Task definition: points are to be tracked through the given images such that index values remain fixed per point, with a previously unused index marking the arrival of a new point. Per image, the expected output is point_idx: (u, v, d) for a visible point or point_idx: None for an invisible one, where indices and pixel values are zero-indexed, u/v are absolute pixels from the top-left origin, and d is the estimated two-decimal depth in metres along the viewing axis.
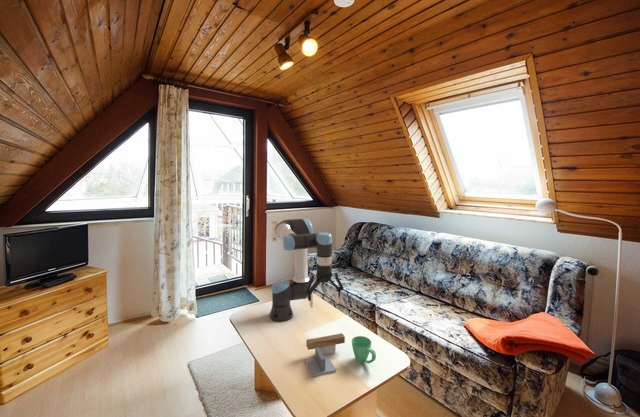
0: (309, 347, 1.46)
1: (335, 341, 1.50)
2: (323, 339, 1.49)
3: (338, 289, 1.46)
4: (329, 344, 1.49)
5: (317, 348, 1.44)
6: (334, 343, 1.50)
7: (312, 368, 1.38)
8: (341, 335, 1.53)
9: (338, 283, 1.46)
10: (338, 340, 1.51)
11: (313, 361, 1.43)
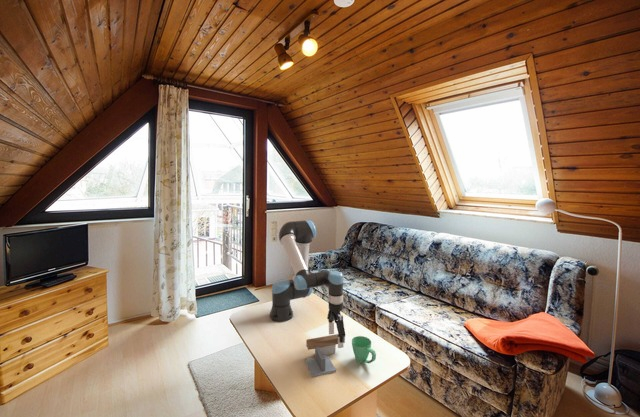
0: (309, 347, 1.46)
1: (335, 341, 1.50)
2: (323, 339, 1.49)
3: None
4: (329, 344, 1.49)
5: (317, 348, 1.44)
6: (334, 343, 1.50)
7: (312, 368, 1.38)
8: None
9: None
10: None
11: (313, 361, 1.43)
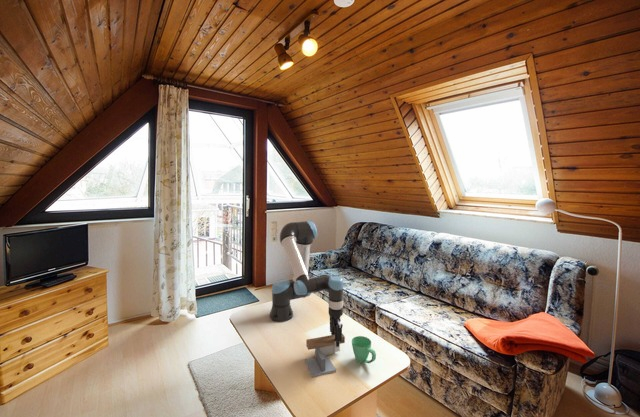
0: (309, 347, 1.46)
1: None
2: (323, 339, 1.49)
3: (335, 338, 1.49)
4: (329, 344, 1.49)
5: (317, 348, 1.44)
6: None
7: (312, 368, 1.38)
8: None
9: None
10: None
11: (313, 361, 1.43)
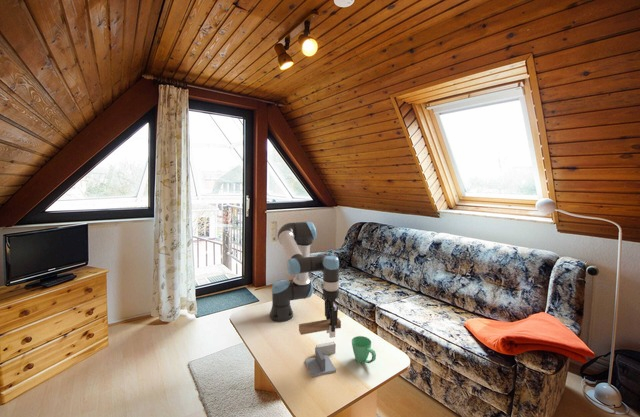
0: (302, 332, 1.34)
1: None
2: (317, 323, 1.37)
3: (330, 322, 1.37)
4: (324, 329, 1.37)
5: (317, 348, 1.44)
6: None
7: (312, 368, 1.38)
8: (337, 319, 1.41)
9: None
10: None
11: (313, 361, 1.43)
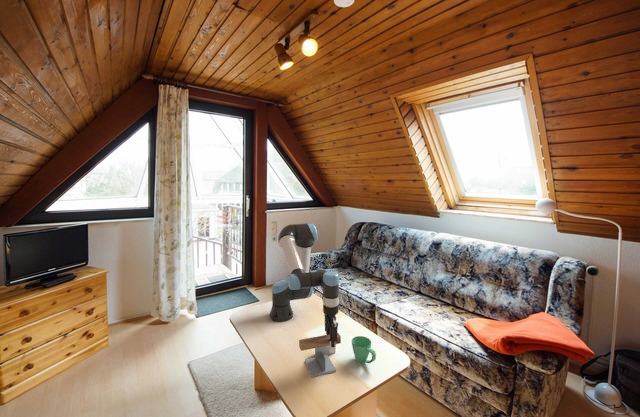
0: (302, 348, 1.35)
1: None
2: (317, 339, 1.38)
3: (330, 338, 1.38)
4: (324, 344, 1.38)
5: (317, 348, 1.44)
6: None
7: (312, 368, 1.38)
8: (337, 335, 1.41)
9: None
10: None
11: (313, 361, 1.43)
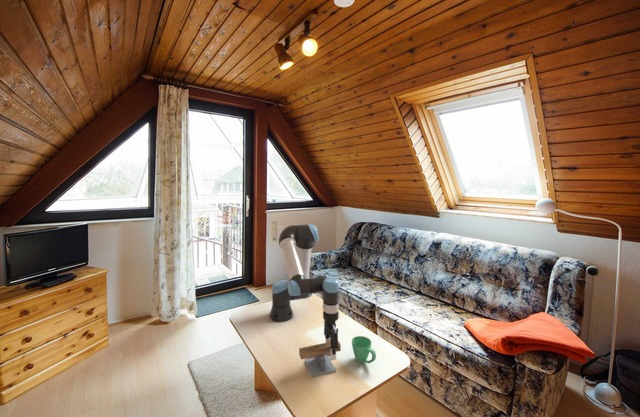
0: (302, 356, 1.35)
1: None
2: (317, 347, 1.38)
3: (331, 345, 1.37)
4: (324, 353, 1.39)
5: None
6: (329, 351, 1.40)
7: (312, 368, 1.38)
8: None
9: None
10: None
11: (313, 361, 1.43)
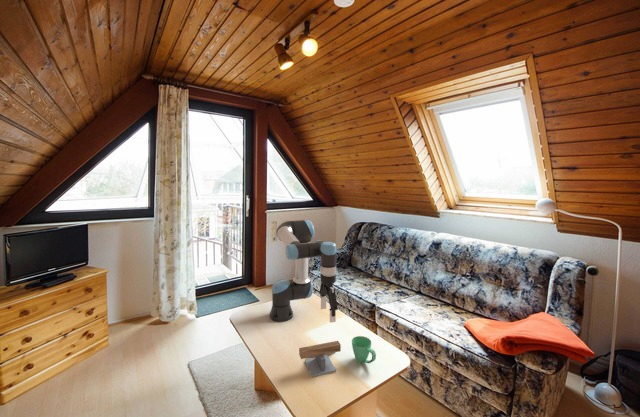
0: (302, 356, 1.35)
1: (330, 350, 1.40)
2: (317, 347, 1.38)
3: (330, 307, 1.35)
4: (324, 353, 1.39)
5: None
6: (329, 352, 1.40)
7: (312, 368, 1.38)
8: (337, 343, 1.42)
9: None
10: (334, 349, 1.40)
11: (313, 361, 1.43)
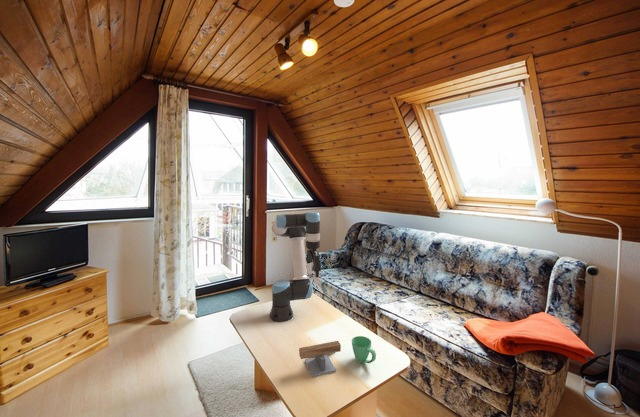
0: (302, 356, 1.35)
1: (330, 350, 1.40)
2: (317, 347, 1.38)
3: (314, 269, 1.50)
4: (324, 353, 1.39)
5: None
6: (329, 352, 1.40)
7: (312, 368, 1.38)
8: (337, 343, 1.42)
9: None
10: (334, 349, 1.40)
11: (313, 361, 1.43)
